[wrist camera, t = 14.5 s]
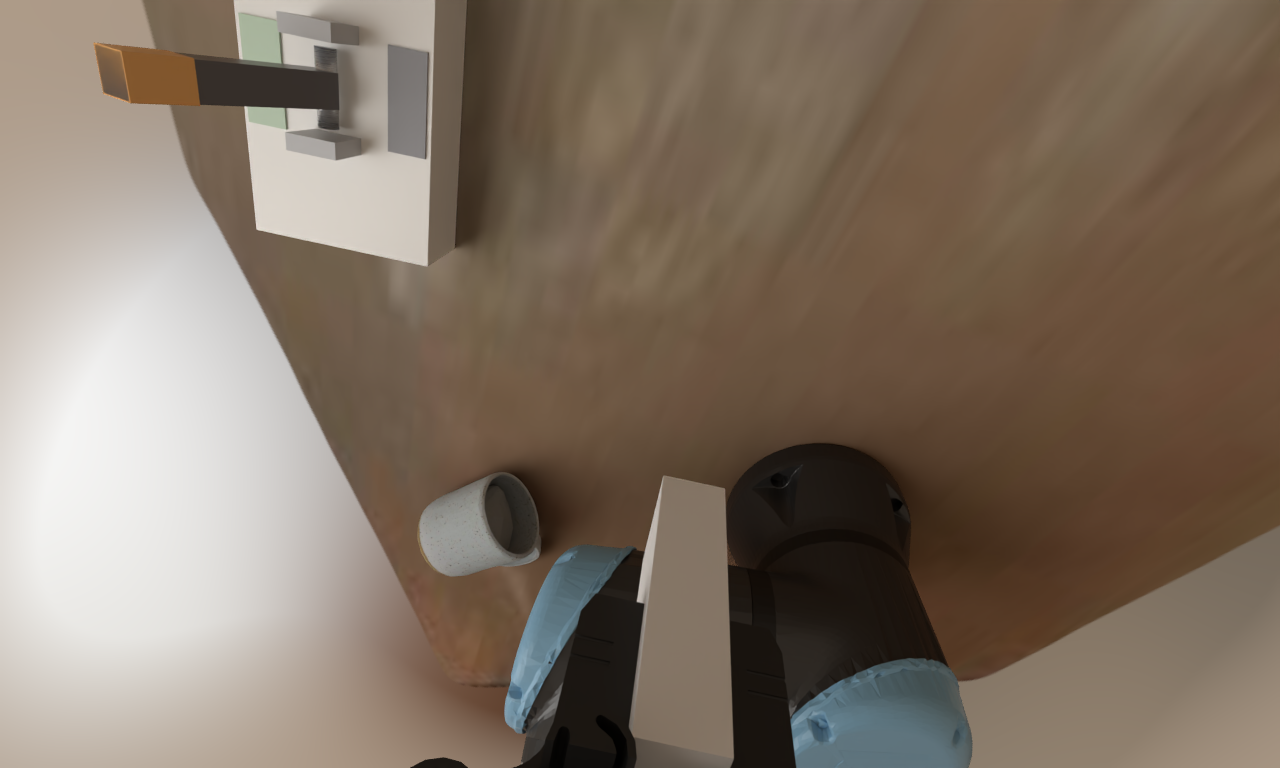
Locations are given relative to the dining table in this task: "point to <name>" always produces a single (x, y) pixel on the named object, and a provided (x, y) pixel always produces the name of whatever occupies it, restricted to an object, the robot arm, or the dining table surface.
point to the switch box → (361, 125)
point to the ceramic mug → (481, 527)
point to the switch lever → (220, 80)
